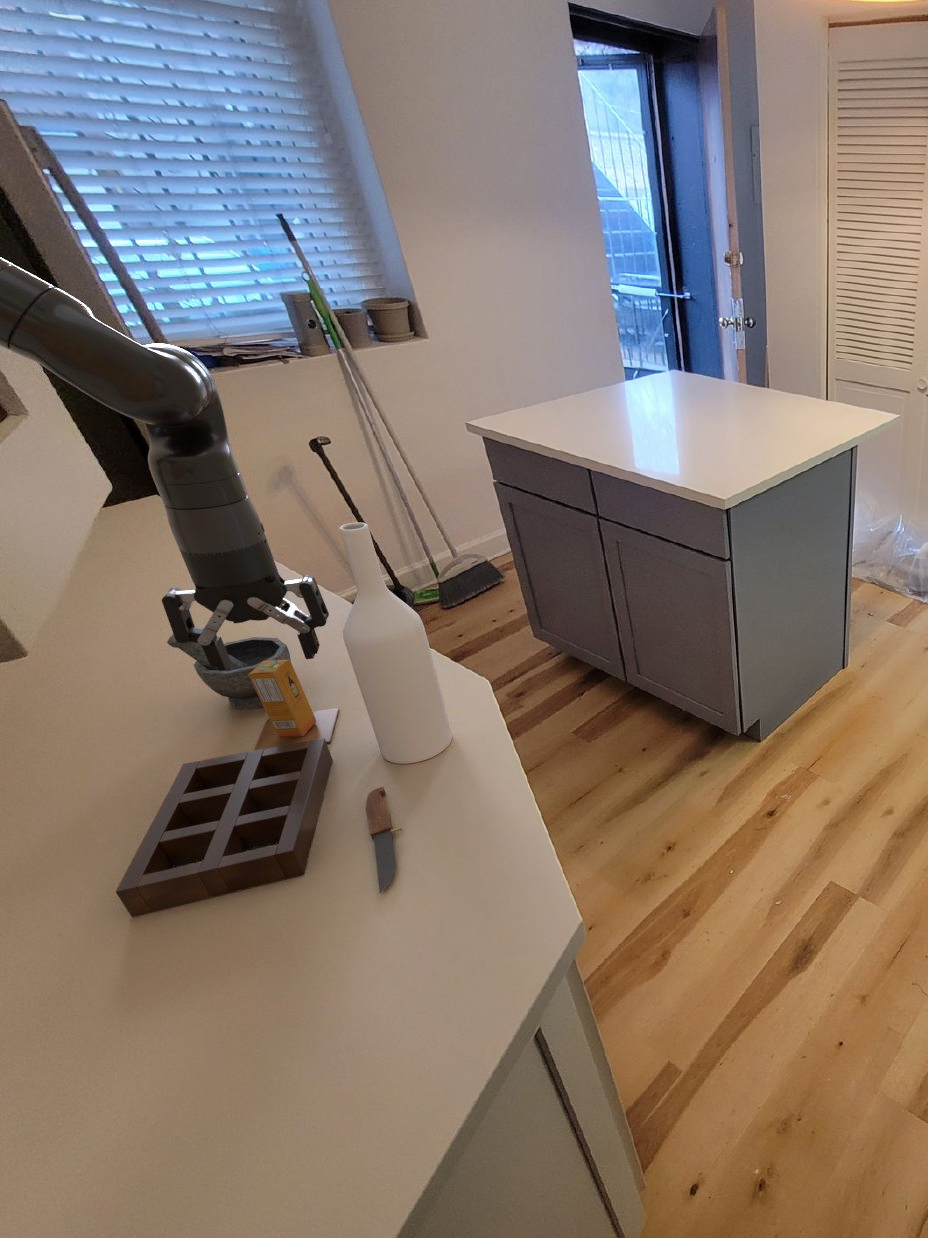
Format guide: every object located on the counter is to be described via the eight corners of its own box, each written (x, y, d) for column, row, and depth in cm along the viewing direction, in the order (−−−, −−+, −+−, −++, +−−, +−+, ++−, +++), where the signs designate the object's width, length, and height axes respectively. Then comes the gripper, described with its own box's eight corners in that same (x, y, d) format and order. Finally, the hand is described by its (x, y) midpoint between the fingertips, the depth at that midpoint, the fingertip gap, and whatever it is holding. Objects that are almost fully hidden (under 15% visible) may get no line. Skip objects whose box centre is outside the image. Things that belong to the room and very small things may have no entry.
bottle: (456, 752, 88) (399, 532, 74) (383, 772, 84) (307, 544, 70) (448, 719, 94) (393, 510, 80) (379, 736, 90) (308, 519, 76)
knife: (413, 877, 70) (378, 890, 68) (415, 884, 70) (381, 897, 68) (391, 783, 81) (361, 792, 79) (393, 789, 82) (363, 799, 80)
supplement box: (289, 723, 91) (263, 658, 86) (317, 722, 91) (293, 658, 86) (274, 738, 88) (246, 672, 83) (303, 738, 88) (277, 672, 84)
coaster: (253, 758, 85) (252, 755, 85) (267, 721, 91) (266, 719, 91) (330, 743, 88) (329, 741, 88) (339, 709, 95) (338, 707, 94)
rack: (131, 917, 65) (114, 892, 63) (194, 786, 80) (183, 763, 79) (304, 874, 70) (293, 850, 69) (333, 760, 86) (324, 737, 84)
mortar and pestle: (299, 671, 102) (272, 599, 96) (304, 701, 96) (275, 626, 90) (200, 694, 96) (164, 618, 90) (199, 728, 89) (160, 649, 84)
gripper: (124, 557, 71) (185, 688, 79) (293, 544, 77) (334, 667, 85) (150, 532, 77) (204, 656, 85) (305, 521, 83) (342, 638, 90)
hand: (269, 661), depth 85 cm, fingers open, 8 cm apart
